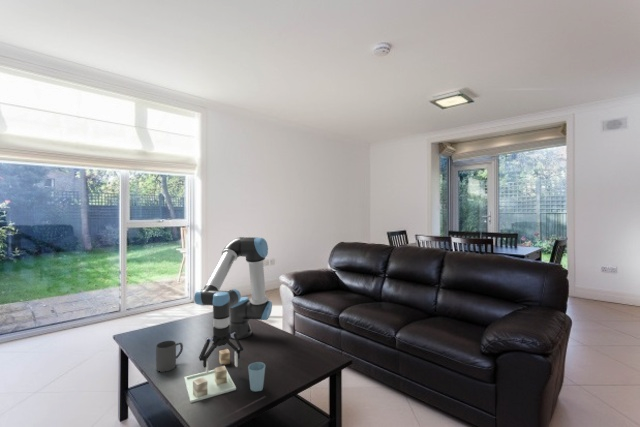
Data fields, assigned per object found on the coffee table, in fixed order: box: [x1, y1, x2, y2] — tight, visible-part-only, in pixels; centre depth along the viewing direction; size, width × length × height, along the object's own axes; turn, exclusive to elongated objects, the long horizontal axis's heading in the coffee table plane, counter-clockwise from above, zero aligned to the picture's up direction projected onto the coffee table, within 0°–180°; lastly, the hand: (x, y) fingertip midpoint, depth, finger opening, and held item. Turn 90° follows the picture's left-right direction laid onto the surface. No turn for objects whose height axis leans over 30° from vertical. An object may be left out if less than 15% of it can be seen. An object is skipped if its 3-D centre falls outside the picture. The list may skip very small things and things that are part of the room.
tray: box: [183, 368, 237, 404], centre depth 144 cm, size 19×21×2 cm
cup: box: [247, 361, 266, 392], centre depth 141 cm, size 8×8×10 cm
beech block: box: [214, 365, 228, 385], centre depth 146 cm, size 4×4×6 cm
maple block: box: [193, 377, 208, 398], centre depth 135 cm, size 4×4×6 cm
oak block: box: [218, 348, 231, 366], centre depth 165 cm, size 4×4×6 cm
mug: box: [155, 340, 184, 373], centre depth 161 cm, size 14×9×12 cm
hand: (221, 369), depth 149 cm, fingers open, 13 cm apart
